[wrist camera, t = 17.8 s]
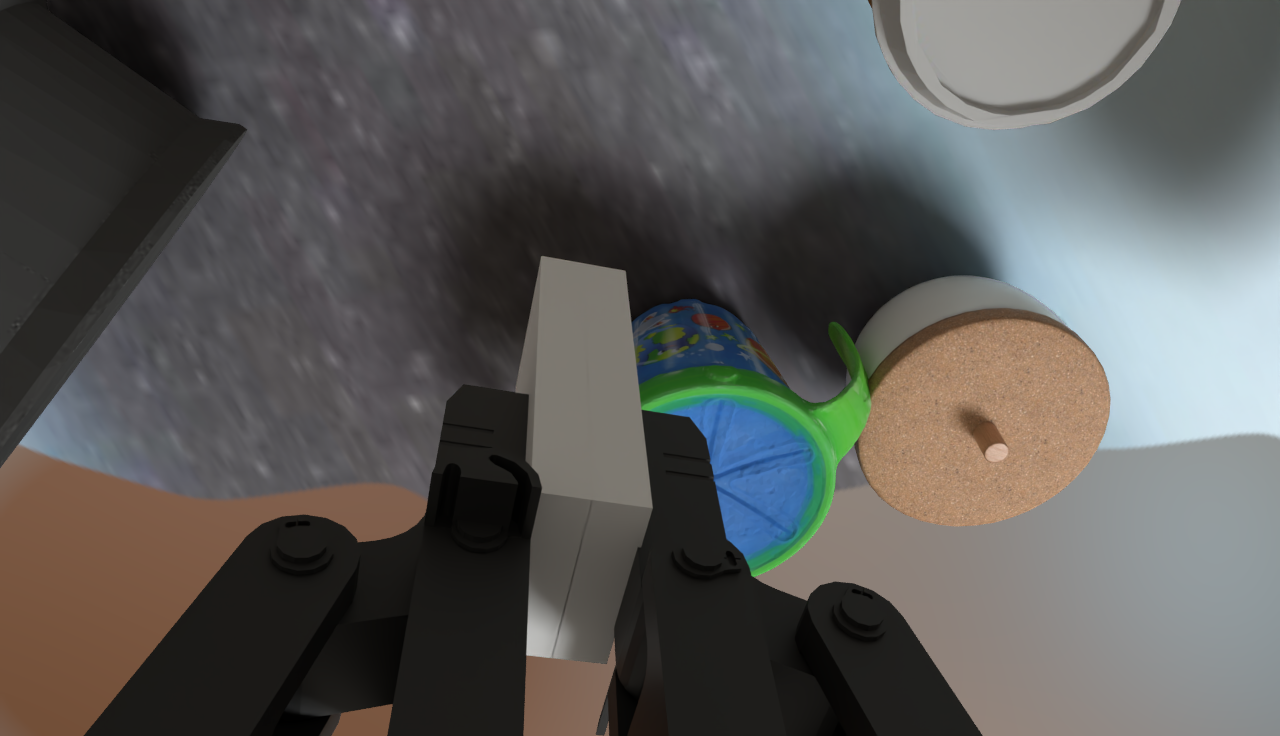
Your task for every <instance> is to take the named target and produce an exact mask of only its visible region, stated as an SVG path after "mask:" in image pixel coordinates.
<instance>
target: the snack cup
mask: <svg viewBox="0 0 1280 736" xmlns="http://www.w3.org/2000/svg"><path fill="white" fill-rule="evenodd" d="M631 323H632V332H633V341H634V350H635V358H636V367H637V376H638V384H639V393H640V402H641V410H647V411H653V412H660V413H666V414H673V415H679V416H685V417H690V418H691V420H692V421H693V422H694V423H695V425H696V426H697V427H698V428H699V430H700V431H701V432H702V434H703V435H704V436H705V437H706V440H707V445H708V450H709V454H710V459H711V460H710V464H712V469H713V474H714V482H715V484H716V489H717V494H718V499H719V504H720V509H721V514H722V519H723V524H724V528H725V533H726V538H727V540H728V541H730V542H731V543H732V544H733V545H734V546H735V547H736V548H737V549H738V550H739V551H741V552H742V553H743V555H744V557H745V559H746V561H747V563H748V565H749V567H750V572H751V576H753V577H755V576H757V575H760V574H762V573H764V572H767V571H768V570H771V569H773V568H775V567H776V566H778V565H779V564H781V563H782V562H784V561H785V560H787V559H789V558H790V557H791V556H793V555H794V554H795V553H796V552H797V551H798V550H799V549H801V548H802V547H803V546H804V545H805V544H806V543H807V542H808V541H809V539H810V538H811V537H812V536H813V535H814V534H815V532H816V531H817V529H818V528H819V527H820V525H821V524H822V522H823V520H824V519H825V517H826V514H827V513H828V511H829V508H830V505H831V502H832V498H833V494H834V490H835V477H836V468H837V465H838V463H839V461H840V460H841V459H842V457H843V456H845V455H846V453H847V452H848V451H849V450H850V449H851V448H852V446H853V445H854V443H855V442H856V441H857V440H858V438H859V436H860V434H861V433H862V431H863V429H864V428H865V425H866V423H867V420H868V417H869V414H870V410H871V399H870V389H869V384H868V380H869V378H868V375H867V373H866V371H865V368H864V366H863V363H862V361H861V358H860V355H859V353H858V351H857V349H856V347H855V345H854V343H853V341H852V339H851V338H850V336H849V335H848V333H847V332H846V331H845V330H844V328H843V327H842V326H841V325H839V324H838V323H836V322H831V323H830V324H829V328H828V333H829V336H830V339H831V341H832V343H833V345H834V346H835V348H836V350H837V352H838V354H839V355H840V357H841V359H842V360H843V362H844V364H845V365H846V367H847V369H848V372H849V375H850V377H851V381H850V382H849V384H848V385H847V386H846V387H845V388H844V389H843V390H842V391H841V392H840V393H839V394H838V395H837V396H836V397H834V398H832V399H831V400H828V401H826V402H823V403H810V402H808V401H806V400H804V399H802V398H801V397H799V396H798V395H797V394H796V393H794V392H793V391H792V390H791V389H790V388H789V386H788V385H787V383H786V382H785V380H784V379H783V377H782V376H781V374H780V372H779V371H778V369H777V368H776V366H775V365H774V363H773V362H772V360H771V359H770V357H769V356H768V354H767V353H766V351H765V350H764V349H763V348H762V346H761V345H760V344H759V342H758V340H757V338H756V336H755V335H754V334H753V333H752V331H751V330H750V329H749V328H748V327H747V326H745V325H744V324H743V323H742V322H741V321H740V320H739V319H738V318H737V317H735V316H734V315H733V314H731V313H730V312H728V311H727V310H725V309H723V308H721V307H718V306H716V305H710V304H706V303H702V302H701V301H699V300H697V299H681V300H679V301H678V302H674V303H670V304H661V305H658V306H655V307H653V308H651V309H649V310H648V311H646V312H645V313H643V314H641V315H640V316H638V317H637V318H636V319H635V320H634V321H633V322H631Z"/></svg>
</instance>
